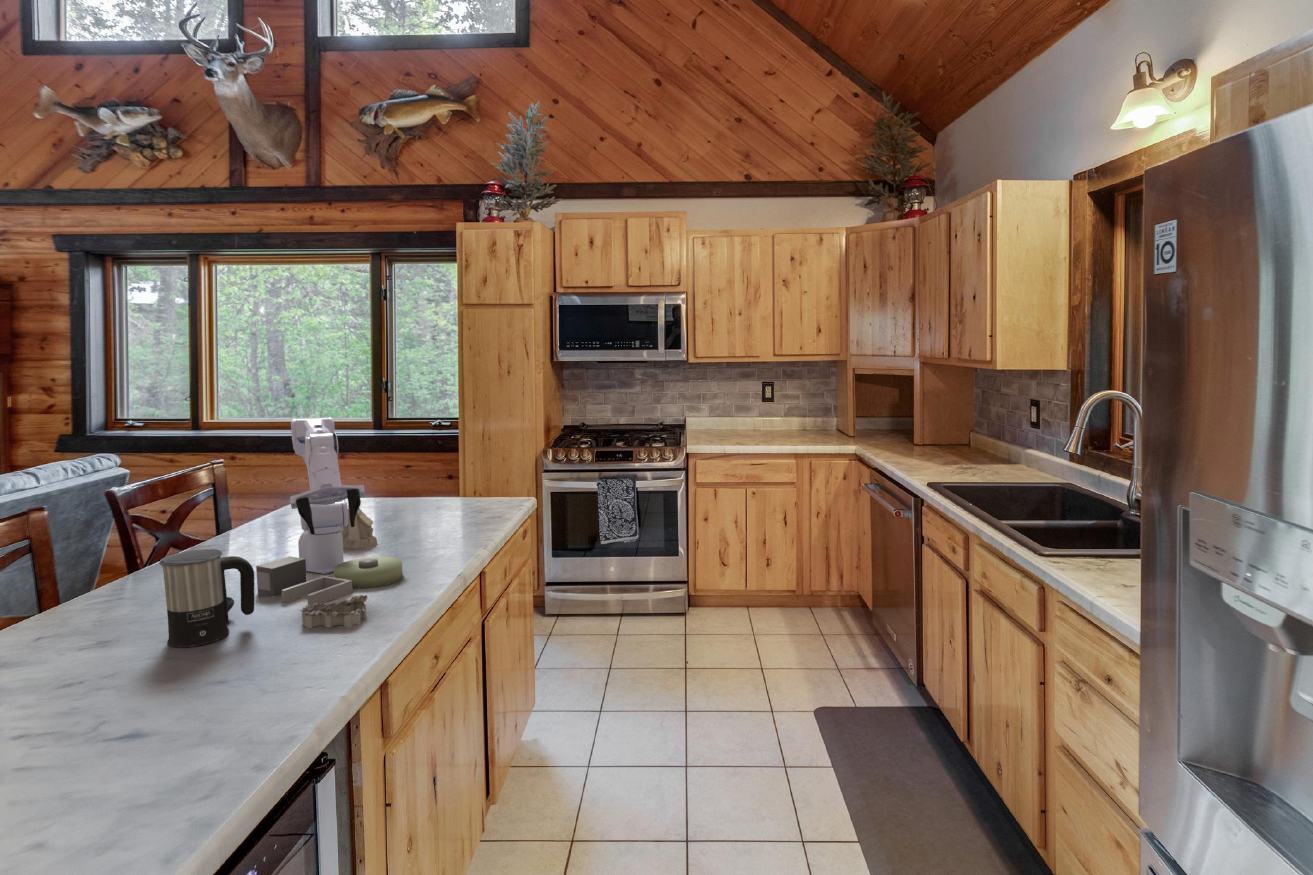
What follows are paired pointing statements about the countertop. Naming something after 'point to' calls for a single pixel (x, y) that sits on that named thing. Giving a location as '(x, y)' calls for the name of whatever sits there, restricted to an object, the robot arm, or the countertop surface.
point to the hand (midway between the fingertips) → (332, 527)
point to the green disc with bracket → (347, 579)
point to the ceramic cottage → (358, 533)
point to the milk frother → (202, 595)
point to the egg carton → (335, 612)
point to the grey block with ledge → (280, 575)
